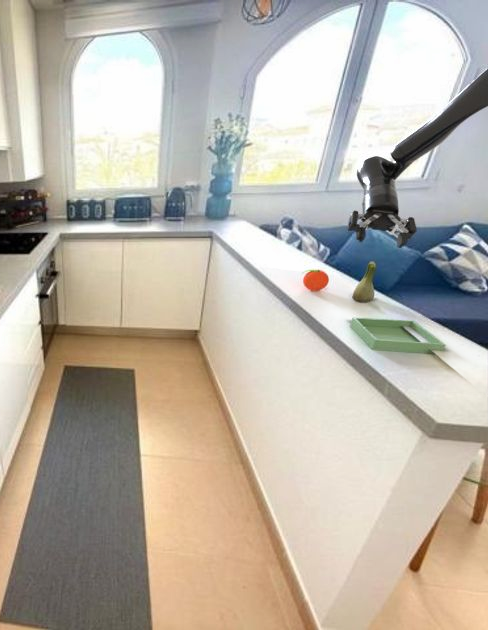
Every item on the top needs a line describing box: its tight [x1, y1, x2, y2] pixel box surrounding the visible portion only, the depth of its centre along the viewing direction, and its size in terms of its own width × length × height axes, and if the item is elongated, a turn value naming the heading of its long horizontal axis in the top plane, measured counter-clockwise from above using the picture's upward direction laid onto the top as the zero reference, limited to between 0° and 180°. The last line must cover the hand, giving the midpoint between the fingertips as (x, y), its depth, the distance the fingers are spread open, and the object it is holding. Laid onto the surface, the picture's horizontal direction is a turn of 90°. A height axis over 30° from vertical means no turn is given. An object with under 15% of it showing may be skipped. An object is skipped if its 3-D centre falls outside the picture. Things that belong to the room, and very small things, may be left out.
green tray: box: [349, 316, 447, 355], centre depth 84 cm, size 13×12×3 cm
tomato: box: [302, 269, 330, 292], centre depth 113 cm, size 8×7×7 cm
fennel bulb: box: [351, 261, 378, 303], centre depth 102 cm, size 6×5×12 cm
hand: (381, 242), depth 91 cm, fingers open, 8 cm apart
